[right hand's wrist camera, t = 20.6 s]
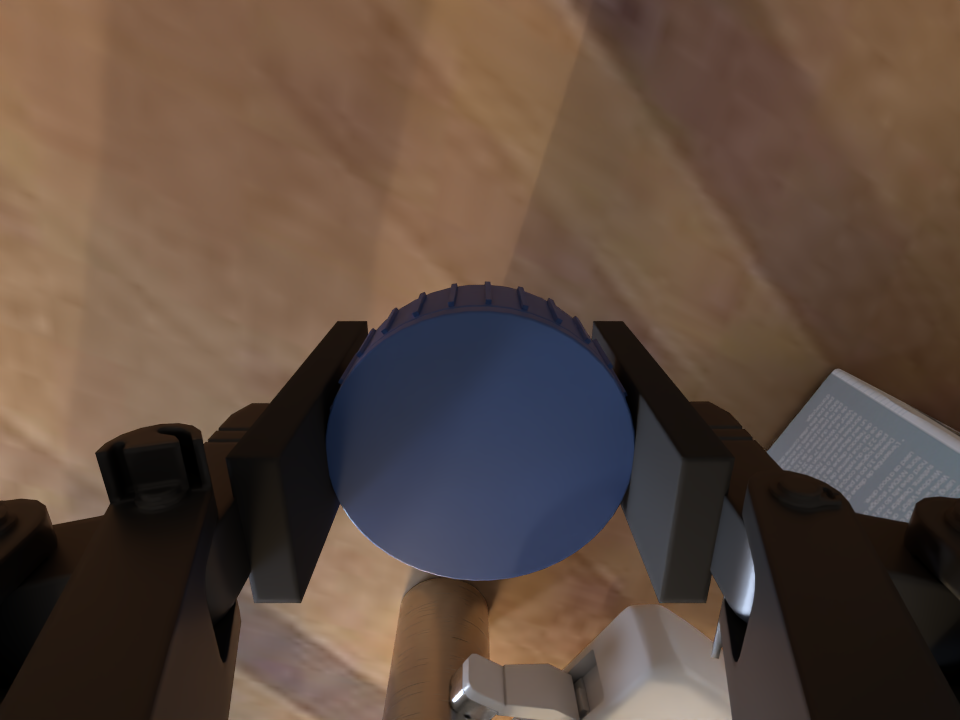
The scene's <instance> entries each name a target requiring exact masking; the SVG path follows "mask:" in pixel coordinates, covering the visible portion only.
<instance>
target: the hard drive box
mask: <svg viewBox="0 0 960 720" xmlns="http://www.w3.org/2000/svg"><path fill="white" fill-rule="evenodd" d="M767 453H768V454H769V455H770V457H771V458H772V459H773V460H774V461H775V462H776V463H777V464H778V465H779V466H780V467H781V468H782V469H783V470H788V471H792V472H797V473H801V474H805V475H808V476H811V477H813V478H816V479H818V480H821V481H823V482H825V483H827V484H829V485H830V486H832V487H833V488H835V489H836V490H838V491H839V492H841V493H842V495H843V496H844V497H845V498H846V499H847V500H848V501H849V503H850V504H851V506H852V508H853V510H854V511H855V512H856V513H860V514H864V515H870V516H875V517H881V518H886V519H891V520H897V521H902V522H907V523H909V521H910V518H911V515H912V512H913V510H914V507H915V504H916V503H917V502H919V501H920V500H922V499H923V498H927V497H937V496H942V497H950V498H960V432H958V431H956V430H954V429H953V428H951V427H949V426H947V425H945V424H943V423H941V422H939V421H938V420H936V419H934V418H932V417H930V416H928V415H926V414H925V413H923V412H921V411H919V410H917V409H915V408H914V407H912V406H910V405H908V404H906V403H904V402H902V401H901V400H899V399H897V398H895V397H893V396H891V395H889V394H887V393H885V392H883V391H881V390H880V389H878V388H876V387H874V386H872V385H870V384H868V383H866V382H864V381H862V380H860V379H859V378H857V377H855V376H853V375H851V374H849V373H847V372H845V371H843V370H841V369H835V370H833V371H832V373H831V374H830V375H829V376H828V377H827V379H826V380H825V381H824V382H823V383H822V385H821V386H820V387H819V388H818V390H817V391H816V392H815V393H814V395H813V396H812V397H811V398H810V400H809V401H808V402H807V403H806V405H805V406H804V407H803V408H802V409H801V411H800V412H799V413H798V414H797V416H796V417H795V418H794V419H793V420H792V422H791V423H790V424H789V425H788V427H787V428H786V429H785V430H784V432H783V433H782V434H781V435H780V437H779V438H778V439H777V440H776V441H775V443H774V444H773V445H772V446H771V448H770V449H769V450H768V451H767Z"/></svg>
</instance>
